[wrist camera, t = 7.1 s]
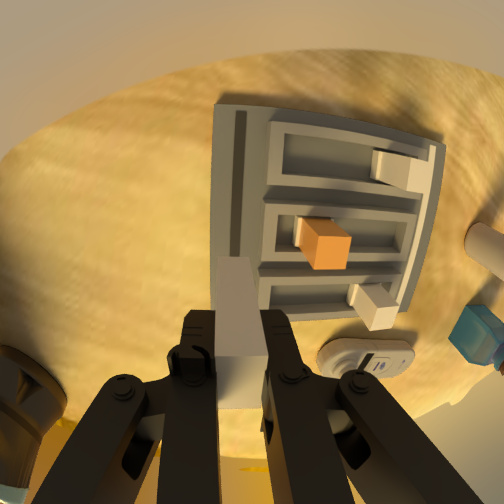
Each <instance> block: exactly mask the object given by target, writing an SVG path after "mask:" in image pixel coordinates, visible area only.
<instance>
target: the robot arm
mask: <svg viewBox="0 0 504 504" xmlns="http://www.w3.org/2000/svg"><path fill="white" fill-rule="evenodd" d="M181 335H182V336H181V340H180V344H179V345H176V346H175V347H173V348H172V349H171V350H170V351H169V353H168V355H167V361H168V366H169V371H170V374H169V375H168V376H167V377H165V378H163V379H160V380H156V381H150V382H144V383H143V382H142V381H141V380H140V379H139V378H137V377H135V376H134V375H129V374H121V375H116V376H114V377H112V378H110V379H109V380H108V381H107V382H106V383H105V384H104V385H103V387H102V388H101V390H100V391H99V393H98V394H97V396H96V397H95V399H94V400H93V402H92V403H91V405H90V406H89V408H88V409H87V411H86V412H85V414H84V415H83V417H82V418H81V420H80V422H79V423H78V425H77V426H76V428H75V429H74V431H73V433H72V434H71V436H70V438H69V439H68V441H67V442H66V444H65V446H64V447H63V449H62V450H61V452H60V454H59V456H58V457H57V459H56V460H55V462H54V464H53V466H52V467H51V469H50V471H49V472H48V474H47V476H46V477H45V479H44V481H43V483H42V484H41V486H40V488H39V490H38V492H37V493H36V495H35V497H34V499H33V501H32V503H31V504H134V502H135V500H136V498H137V495H138V493H139V490H140V488H141V485H142V483H143V481H144V479H145V476H146V474H147V471H148V469H149V466H150V464H151V462H152V460H153V457H154V455H155V452H156V450H157V448H158V445H159V443H160V441H161V440H162V445H161V455H160V466H159V476H158V489H157V504H222V494H221V475H220V451H219V421H218V409H256V408H261V403H262V407H263V417H262V423H261V429H260V432H264V439H265V446H266V452H267V459H268V466H269V473H270V479H271V486H272V492H273V498H274V504H355V501H354V498H353V495H352V492H351V489H350V485H349V482H348V479H347V476H348V478H349V479H350V481H351V482H352V484H353V485H354V487H355V488H356V490H357V491H358V493H359V494H360V496H361V497H362V499H363V500H364V502H365V503H366V504H484V503H483V502H482V501H481V500H480V499H479V497H478V496H477V495H476V494H475V493H474V491H473V490H472V489H471V488H470V486H469V485H468V484H467V483H466V482H465V480H464V479H463V478H462V477H461V476H460V475H459V473H458V472H457V471H456V470H455V469H454V468H453V466H452V465H451V464H450V463H449V462H448V460H447V459H446V458H445V457H444V456H443V455H442V453H441V452H440V451H439V450H438V449H437V447H436V446H435V445H434V444H433V443H432V442H431V441H430V439H429V438H428V437H427V436H426V435H425V433H424V432H423V431H422V430H421V429H420V428H419V426H418V425H417V424H416V423H415V422H414V421H413V419H412V418H411V417H410V416H409V415H408V414H407V413H406V411H405V410H404V409H403V408H402V407H401V406H400V404H399V403H398V402H397V401H396V400H395V399H394V398H393V396H392V395H391V394H390V393H389V392H388V391H387V390H386V388H385V387H384V386H383V385H382V384H381V383H380V382H379V380H378V379H377V378H376V377H375V376H374V375H372V374H371V373H369V372H367V371H364V370H359V369H354V370H349V371H347V372H345V373H344V374H343V375H342V376H341V378H340V379H338V378H331V377H324V376H320V375H317V374H315V373H313V372H312V371H311V369H310V368H309V367H308V366H307V365H305V364H304V363H303V361H302V359H301V355H300V352H299V349H298V346H297V343H296V340H295V337H294V335H293V331H292V328H291V325H290V322H289V319H288V316H287V315H286V314H285V313H284V312H283V311H282V310H281V309H263V310H259V305H258V300H257V295H256V290H255V285H254V280H253V274H252V269H251V264H250V259H249V257H218V261H217V284H216V310H190V312H189V313H188V314H187V315H186V316H185V317H184V322H183V328H182V334H181ZM66 406H67V399H66V396H65V394H64V392H63V390H62V389H61V387H60V386H59V385H58V383H57V382H56V381H55V380H54V379H53V378H52V377H51V376H50V374H49V373H47V372H46V371H45V370H44V369H43V368H42V367H41V366H40V365H39V364H37V363H36V362H35V361H33V360H32V359H31V358H29V357H28V356H26V355H25V354H23V353H21V352H20V351H18V350H16V349H14V348H11V347H8V346H0V502H2V503H4V504H23V503H24V500H25V497H26V494H27V492H28V490H29V483H30V479H31V475H32V471H33V468H34V465H35V461H36V458H37V455H38V451H39V448H40V445H41V442H42V439H43V437H44V435H45V434H46V433H47V432H48V431H49V430H50V428H51V427H52V426H53V425H54V424H55V422H56V421H57V420H59V419H60V418H61V417H62V415H63V413H64V411H65V408H66Z"/></svg>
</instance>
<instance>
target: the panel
mask: <svg viewBox="0 0 504 504" xmlns="http://www.w3.org/2000/svg"><path fill="white" fill-rule="evenodd" d="M373 150H375V151H381V152H386V153H391V154H397V155H401V156H406V157H411V158H415V159H419V160H423V161H427V162H430V163H434V169H433V176H432V183H431V189H430V194H429V195H428V194H423V193H417V192H411V191H406V190H403V189H401V188H398V187H395V186H393V185H390V184H388V183H385V182H382V181H380V180H375V179H372V178H370V172H371V164H372V155H373ZM445 153H446V145H445V144H442V143H439V142H436V141H433V140H430V139H427V138H424V137H421V136H418V135H414V134H411V133H407V132H404V131H400V130H397V129H393V128H389V127H385V126H381V125H377V124H373V123H369V122H364V121H360V120H355V119H350V118H345V117H340V116H334V115H329V114H322V113H316V112H309V111H302V110H294V109H285V108H276V107H265V106H251V105H231V104H214V117H213V137H212V162H211V200H210V294H211V310H216V284H217V261H218V257H249V259H250V264H251V269H252V274H253V280H254V285H255V290H256V295H257V300H258V305H259V310H263V309H281V310H282V311H283V312H284V313H285V314H286V315H287V316H288V319H289V322H291V321H310V320H326V319H339V318H351V317H360V316H359V315H358V313H357V312H356V310H355V309H354V307H353V306H349V304H348V303H347V301H346V297H347V293H348V289H349V285H350V284H356V283H380V282H381V286H382V287H383V288H384V289H385V290H386V291H387V292H388V293H389V294H390V295H391V297H392V298H393V299H394V300H395V301H396V302H397V303H398V304H399V305H400V307H399V310H398V312H397V313H399V312H407V310H408V307H409V305H410V302H411V299H412V296H413V293H414V291H415V288H416V285H417V282H418V278H419V275H420V272H421V269H422V266H423V262H424V259H425V255H426V252H427V248H428V244H429V240H430V236H431V232H432V228H433V224H434V219H435V215H436V210H437V205H438V200H439V194H440V189H441V183H442V176H443V169H444V161H445ZM295 215H302V216H322V217H332V218H333V219H334V222H335V223H336V224H337V225H338V226H339V227H341V228H342V229H343V230H344V231H345V232H346V233H348V234H349V235H350V236H351V237H352V238H351V243H350V248H349V254H348V258H347V263H346V268H345V269H320V270H314V269H313V268H312V266H311V265H310V263H309V262H308V260H307V259H306V257H305V256H304V254H303V253H302V251H301V250H300V248H299V247H295V246H294V244H293V243H292V238H293V229H294V220H295Z"/></svg>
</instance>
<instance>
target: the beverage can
mask: <svg viewBox="0 0 504 504" xmlns="http://www.w3.org/2000/svg"><path fill="white" fill-rule="evenodd" d="M464 248H465V252H466V254H467V255H468V256H469V257H470V258H472V259H473V260H475V261H476V262H478V263H479V264H481V265H482V266H484V267H485V268H486V269H488V270H489V271H491V272H492V273H493V274H495V275H496V276H497V277H499V278H500V279H501V280H502V281H504V234H502V233H500V232H498V231H497V230H495V229H493V228H491V227H489V226H487V225H485V224H483V223H481V222H478V223H476V224H474V225H472V226H471V227H470V229H469V230H468V232H467V234H466V237H465V241H464Z"/></svg>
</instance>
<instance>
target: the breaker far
mask: <svg viewBox="0 0 504 504" xmlns="http://www.w3.org/2000/svg"><path fill="white" fill-rule="evenodd" d="M346 301H347V303H348V304H349V306H353V307H354V309H355V310H356V312H357V313H358V315H359V316H360V318H361V319H362V320H363V322H364V323H365V325H366V326H367V328H368V329H369V331H374V330H381V329H388V328H392V326H393V323H394V320H395V318H396V315H397V312H398V310H399V307H400V305H399V304H398V303H397V302H396V301H395V300H394V299H393V298H392V297H391V295H390V294H389V293H388V292H387V291H386V290H385V289H384V288H383V287H382V286H381V282H380V283H356V284H350V285H349V289H348V293H347V297H346Z"/></svg>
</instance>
